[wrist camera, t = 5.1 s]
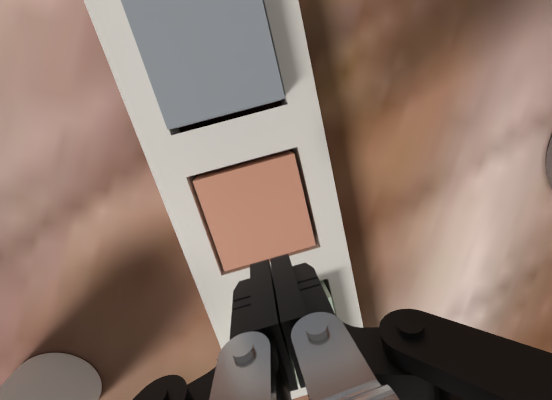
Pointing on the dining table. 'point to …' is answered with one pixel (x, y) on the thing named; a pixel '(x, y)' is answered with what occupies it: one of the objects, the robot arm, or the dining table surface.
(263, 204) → the terracotta button
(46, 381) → the mug
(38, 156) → the dining table surface
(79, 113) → the dining table surface
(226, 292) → the button panel
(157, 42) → the grey button
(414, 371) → the robot arm
